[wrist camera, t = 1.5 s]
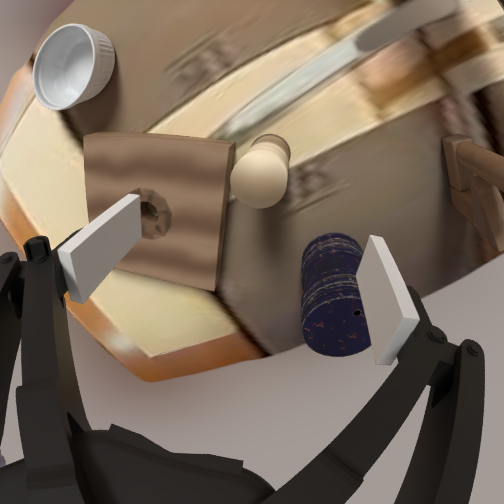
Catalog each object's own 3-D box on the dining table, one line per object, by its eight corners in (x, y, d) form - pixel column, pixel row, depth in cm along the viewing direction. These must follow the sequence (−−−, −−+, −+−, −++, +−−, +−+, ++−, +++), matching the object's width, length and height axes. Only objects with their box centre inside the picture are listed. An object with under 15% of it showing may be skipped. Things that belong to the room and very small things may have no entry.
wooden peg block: (451, 206, 37) (515, 271, 21) (440, 137, 32) (518, 174, 17) (469, 200, 35) (536, 261, 20) (459, 133, 31) (541, 167, 16)
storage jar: (343, 294, 47) (353, 365, 34) (290, 273, 46) (285, 344, 34) (375, 247, 42) (401, 312, 29) (319, 221, 41) (328, 283, 29)
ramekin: (58, 108, 37) (30, 114, 31) (63, 36, 30) (35, 35, 24) (119, 102, 36) (91, 107, 30) (127, 21, 29) (100, 14, 23)
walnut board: (98, 131, 38) (83, 136, 35) (235, 142, 37) (228, 147, 34) (106, 251, 50) (95, 262, 46) (220, 276, 49) (214, 291, 45)
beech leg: (257, 127, 36) (232, 148, 22) (293, 134, 36) (293, 159, 22) (252, 162, 38) (225, 204, 25) (287, 168, 38) (282, 214, 24)
